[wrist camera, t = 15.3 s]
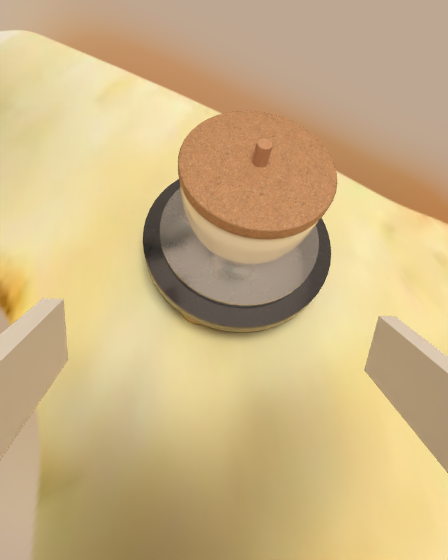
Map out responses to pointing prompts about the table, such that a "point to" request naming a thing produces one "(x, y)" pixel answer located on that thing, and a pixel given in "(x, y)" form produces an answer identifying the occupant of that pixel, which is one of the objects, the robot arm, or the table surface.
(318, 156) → the lidded jar
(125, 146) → the table surface
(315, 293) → the base
